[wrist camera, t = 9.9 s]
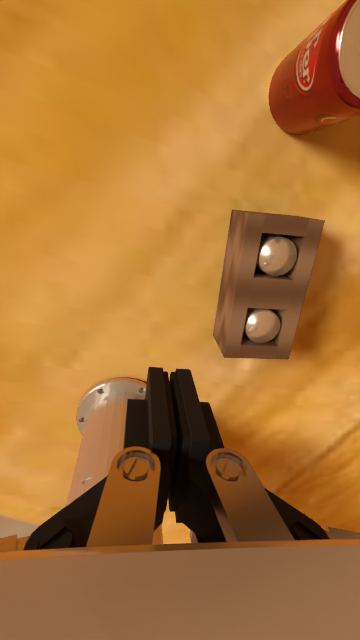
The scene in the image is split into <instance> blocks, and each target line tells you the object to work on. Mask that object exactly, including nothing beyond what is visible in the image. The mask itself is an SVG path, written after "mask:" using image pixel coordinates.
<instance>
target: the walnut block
mask: <svg viewBox="0 0 360 640" xmlns="http://www.w3.org/2000/svg"><path fill="white" fill-rule="evenodd" d="M324 222H325V221H324V220H318V219H311V218H305V217H299V216H290V215H280V214H270V213H259V212H249V211H239V210H232V213H231V220H230V226H229V233H228V240H227V246H226V253H225V260H224V266H223V273H222V280H221V286H220V293H219V300H218V306H217V313H216V319H215V326H214V333H213V336H214V338H215V340H216V342H217V344H218V346H219V348H220V350H221V352H222V354H223V356H224V358H260V359H289V355H290V351H291V347H292V343H293V340H294V336H295V332H296V328H297V324H298V321H299V317H300V313H301V309H302V305H303V302H304V298H305V294H306V290H307V286H308V283H309V279H310V275H311V271H312V268H313V264H314V260H315V256H316V252H317V249H318V245H319V241H320V237H321V233H322V230H323V226H324ZM262 233H270V234H274V235H277V236H280V237H284V238H287V239H289V240H290V241H292V242H293V243H294V245H295V247H296V250H297V258H296V261H295V264H294V265H293V267H292V268H291V269H290V270H289V271H288V272H287V273H285V274H283V275H280V276H271V275H268V274H267V273H265V272H264V271H262V270H261V269H259V268H258V267H256V262H257V256H258V251H259V246H260V241H261V235H262ZM248 308H261V309H270V310H271V311H272V312H274V313H275V314H276V315H277V316H278V318H279V320H280V329H279V332H278V333H277V335H276V336H275V337H274V338H273V339H272V340H270V341H268V342H265V343H256V342H253V341H252V340H250V339H249V337H248V336H247V335H246V333H245V332H244V324H245V319H246V314H247V309H248Z"/></svg>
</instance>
